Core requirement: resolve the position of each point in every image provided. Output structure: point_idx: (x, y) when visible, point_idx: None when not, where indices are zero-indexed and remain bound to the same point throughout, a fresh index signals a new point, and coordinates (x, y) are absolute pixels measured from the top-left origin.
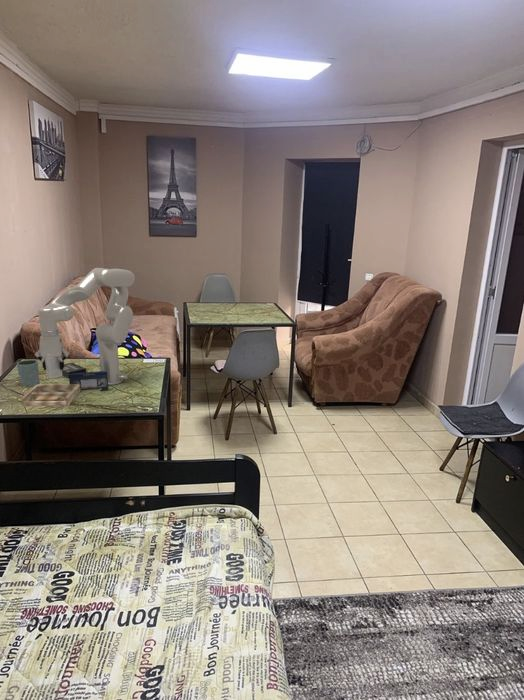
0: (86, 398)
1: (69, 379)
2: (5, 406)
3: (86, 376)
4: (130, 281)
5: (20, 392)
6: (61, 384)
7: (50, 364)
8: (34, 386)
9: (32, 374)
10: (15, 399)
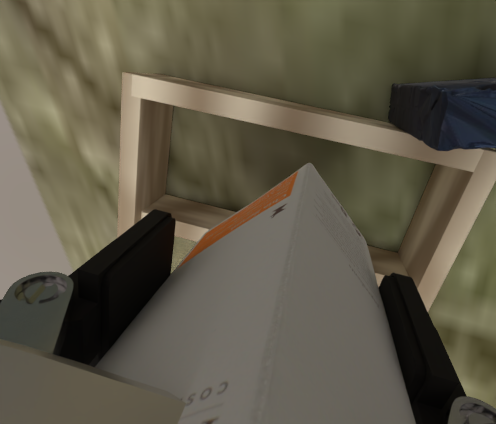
0: (490, 244)
1: (423, 138)
2: (60, 241)
3: None
4: None
5: (42, 8)
6: (332, 122)
7: None
8: (123, 123)
9: None
10: (65, 148)
